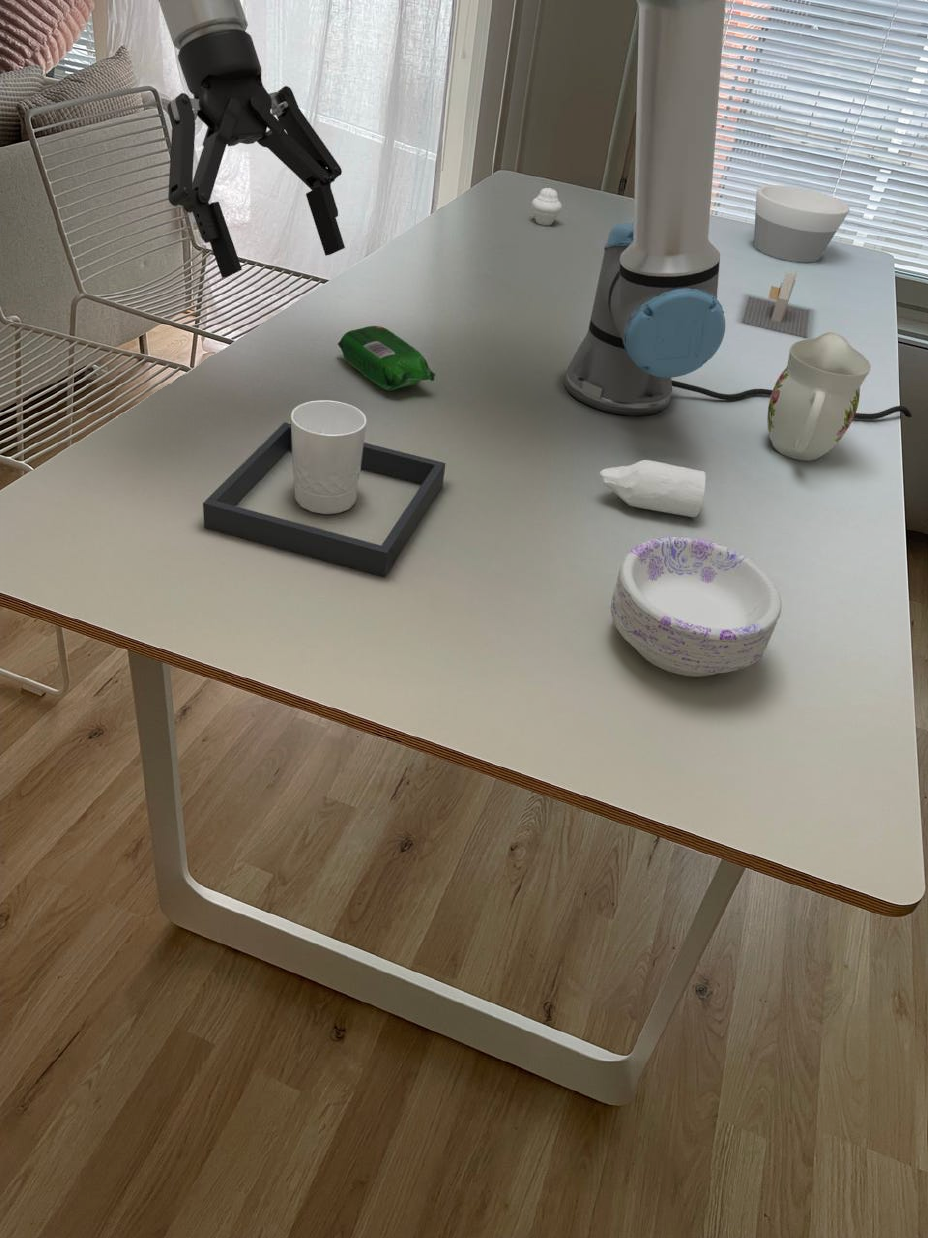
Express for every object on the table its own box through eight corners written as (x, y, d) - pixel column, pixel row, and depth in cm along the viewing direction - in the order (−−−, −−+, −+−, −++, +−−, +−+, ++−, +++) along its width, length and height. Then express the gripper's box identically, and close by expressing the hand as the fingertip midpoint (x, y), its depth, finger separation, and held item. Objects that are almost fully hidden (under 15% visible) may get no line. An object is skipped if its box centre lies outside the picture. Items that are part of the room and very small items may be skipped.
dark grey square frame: (442, 485, 113) (445, 462, 111) (385, 577, 98) (387, 552, 96) (284, 444, 116) (284, 421, 114) (203, 527, 100) (202, 502, 99)
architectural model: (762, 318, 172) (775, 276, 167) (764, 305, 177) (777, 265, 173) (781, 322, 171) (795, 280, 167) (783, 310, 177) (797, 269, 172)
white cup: (291, 477, 110) (292, 397, 104) (360, 482, 111) (366, 402, 105) (287, 515, 104) (288, 432, 98) (361, 519, 105) (366, 437, 99)
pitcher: (747, 468, 126) (781, 370, 117) (762, 414, 140) (794, 322, 131) (832, 492, 124) (873, 393, 115) (839, 435, 137) (876, 343, 129)
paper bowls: (656, 713, 87) (679, 645, 82) (576, 610, 97) (592, 545, 92) (789, 681, 93) (818, 617, 88) (699, 588, 103) (721, 525, 98)
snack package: (391, 405, 127) (394, 368, 124) (332, 357, 137) (334, 321, 133) (435, 397, 131) (440, 361, 128) (375, 350, 140) (378, 315, 137)
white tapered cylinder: (594, 484, 118) (604, 443, 114) (691, 501, 118) (704, 460, 114) (593, 509, 113) (603, 467, 110) (694, 527, 113) (708, 485, 109)
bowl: (842, 271, 200) (862, 218, 193) (752, 260, 199) (769, 205, 192) (817, 242, 215) (834, 191, 208) (733, 231, 214) (748, 179, 207)
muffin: (527, 224, 198) (533, 188, 194) (530, 216, 203) (536, 181, 199) (557, 229, 198) (563, 193, 194) (559, 221, 203) (565, 186, 199)
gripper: (291, 53, 105) (353, 252, 111) (80, 62, 90) (165, 293, 96) (331, 22, 100) (394, 234, 106) (114, 26, 84) (202, 274, 90)
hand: (285, 262), depth 101 cm, fingers open, 13 cm apart
